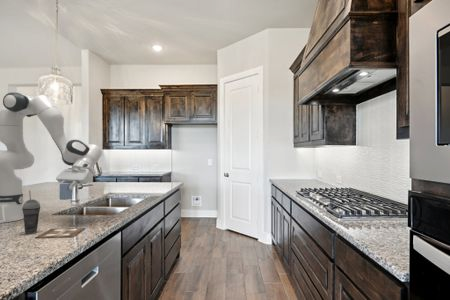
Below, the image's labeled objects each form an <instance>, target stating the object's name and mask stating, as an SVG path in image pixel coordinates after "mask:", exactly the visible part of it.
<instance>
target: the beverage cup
mask: <svg viewBox="0 0 450 300" xmlns="http://www.w3.org/2000/svg"><path fill="white" fill-rule="evenodd" d="M28 194H29V199H28V200H26V201H25V202H23V204H22V206H23V208H22V210H23V215H24V219H23V227H24V232H25V233H24V234H27V235H28V234H29V235H30V234H31V235H32V234H35V233H37V232H38V225H39V217H40V212H41V208H42V207H41V204H40V201H38V200H37V199H32V195H31V190H28Z"/></svg>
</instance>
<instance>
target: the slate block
mask: <svg viewBox="0 0 450 300" xmlns="http://www.w3.org/2000/svg"><path fill="white" fill-rule="evenodd" d="M71 184H72V183H62V184H61V183H59V187H60V188H59V200H63V201H64V200H65V201H66V200H73V188H72V189H71V190H69V189H67V187H68V186H69V185H71Z"/></svg>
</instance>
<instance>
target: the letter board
mask: <svg viewBox="0 0 450 300" xmlns="http://www.w3.org/2000/svg"><path fill="white" fill-rule="evenodd" d="M84 230H86V227H68V228H64V227H63V228H60V227H59V228H50V229H47V230H45V231H44V232H42V233H40V234H38V235H36V236H35V237H34V238H35V239H57V238H58V239H60V238H61V239H62V238H75V237H76V236H78V235H79V234H80V233H82V232H83V231H84Z"/></svg>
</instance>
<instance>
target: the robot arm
mask: <svg viewBox="0 0 450 300" xmlns="http://www.w3.org/2000/svg"><path fill="white" fill-rule="evenodd" d="M2 104H3V106H4V107H2V108H1V109H0V142H1V143H2V144H3V145H5V148H6V150H2V149H1V150H0V224H3V223H9V222H11V223H12V222H17V221H20V220H24V215H23V210H22V208H23V204H24V194H23V180H22V179H21V178H20V177H18V176H17V175H16V173H15V171H16V170H17V171H18V170H24V169H29V168H31V167H32V166H33V165H34V164H35V157H34V155H33V153H32V152H31V151H29V149H28V148H27V146H26V144H25V141H24V118H25V117H28V118H31V117H33V116H37V117H38V119H39V121H41V123H42V125H43V126H44V127H45V129H46V130H47V132H48V134H49V135H50V137H51V139H52V140H53V142H54V144H55V145H56V147H57V148H58V150H59V151H60V152H59V153H60V154H61V160H62V162H63V163H64V164H65V165H67V166H69V168H65V169H64V170H61V172H60V173H59V174H58V175H57V176H56V178H55V180H56V181H57V182H58V183H59V184H62V183H72V184H71V185H69V186H68V187H67V189H69V190H71V189H72V190H73V189H74V187H76V186H77V185H88V183H90V181H92V179H93V177H94V176H96V173H97V172H96V170H95V169H94V168H93V167H94V166H95V165H96V164H97V162H99V160H100V158H101V157H102V153H103V151H102V150H101V147H100V146H98V145H97V144H94V143H92V144H91V143H86V142H83V141H81V140H79V139H71V140H68V138H67V137H66V135H65V130H64V124H65V120H64V116H63V114H62V112H61V110H60V109H59V107H58V106H57V105H56V103H54V101H53V100H52V99H50V98H49V96H46V95H44V94H39V95H36V96H32V95H29V94H26V93H25V94H24V93H20V92H13V91H12V92H8V93H6V94H5V95H4V96H3V98H2ZM70 166H71V167H70ZM59 189H60V186H59Z"/></svg>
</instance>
